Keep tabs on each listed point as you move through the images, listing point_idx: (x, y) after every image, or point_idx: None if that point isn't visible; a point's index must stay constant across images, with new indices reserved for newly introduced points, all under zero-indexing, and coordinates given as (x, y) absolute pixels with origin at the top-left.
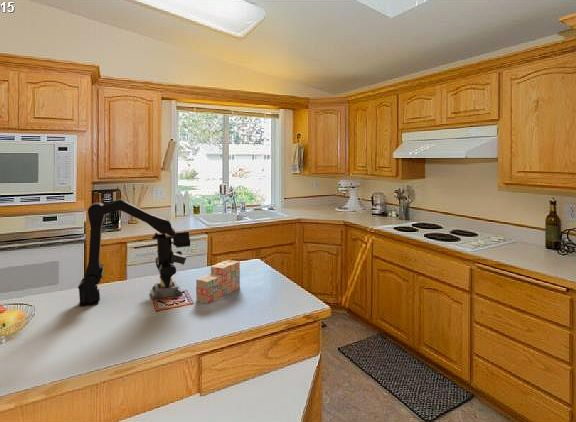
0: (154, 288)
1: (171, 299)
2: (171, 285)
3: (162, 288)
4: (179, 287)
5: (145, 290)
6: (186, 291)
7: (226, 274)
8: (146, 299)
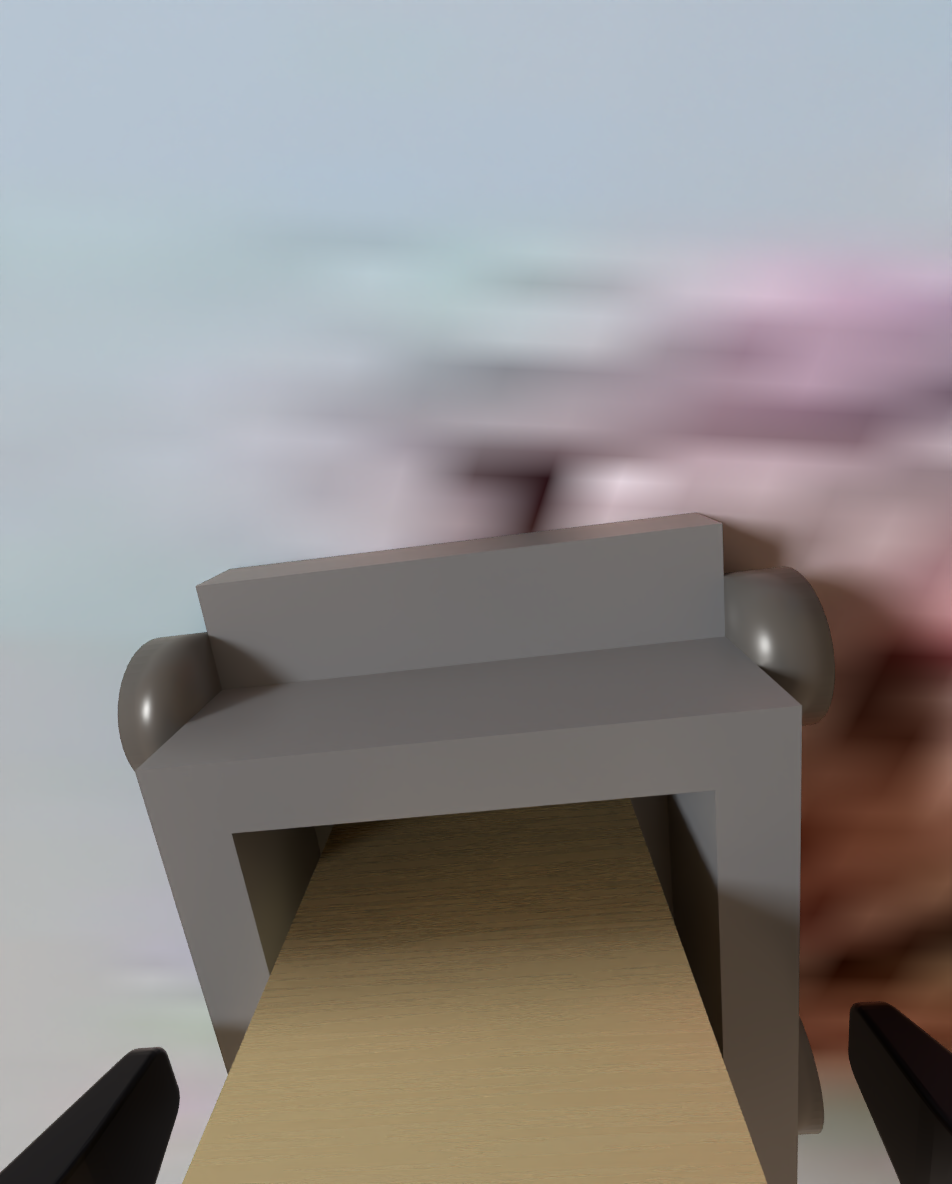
0: None
1: (911, 761)
2: (661, 911)
3: (751, 1107)
4: (353, 588)
5: None
6: (511, 401)
7: None
8: None
